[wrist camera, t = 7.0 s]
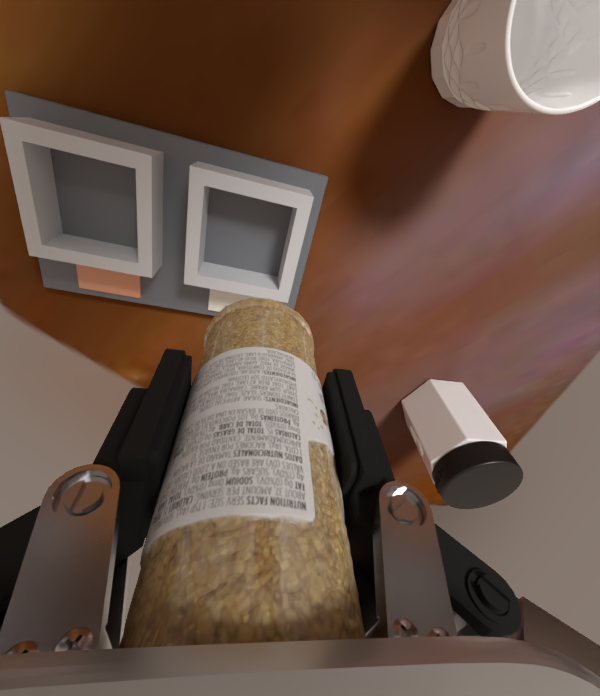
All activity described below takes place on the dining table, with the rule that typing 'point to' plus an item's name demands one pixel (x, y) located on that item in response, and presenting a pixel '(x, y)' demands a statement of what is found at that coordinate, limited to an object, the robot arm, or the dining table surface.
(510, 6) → the white cup
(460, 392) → the jar
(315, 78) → the dining table surface
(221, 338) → the sprinkles bottle
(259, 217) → the socket board
